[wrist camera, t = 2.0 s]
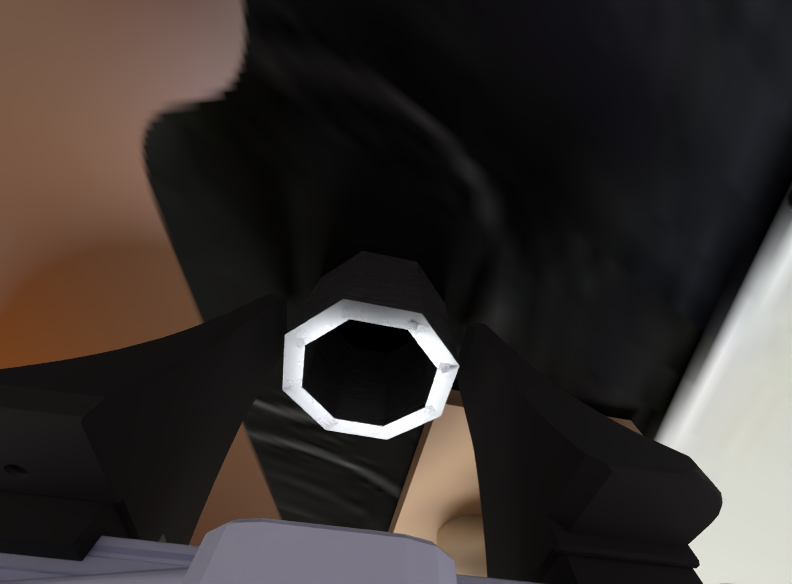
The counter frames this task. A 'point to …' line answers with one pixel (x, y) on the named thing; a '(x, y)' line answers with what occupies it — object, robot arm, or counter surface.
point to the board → (448, 490)
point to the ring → (367, 369)
